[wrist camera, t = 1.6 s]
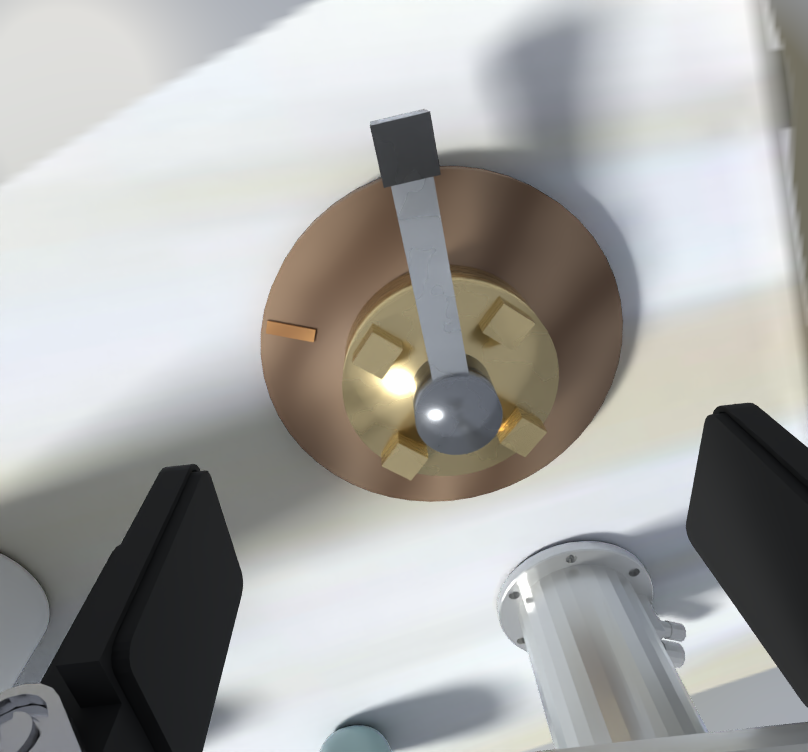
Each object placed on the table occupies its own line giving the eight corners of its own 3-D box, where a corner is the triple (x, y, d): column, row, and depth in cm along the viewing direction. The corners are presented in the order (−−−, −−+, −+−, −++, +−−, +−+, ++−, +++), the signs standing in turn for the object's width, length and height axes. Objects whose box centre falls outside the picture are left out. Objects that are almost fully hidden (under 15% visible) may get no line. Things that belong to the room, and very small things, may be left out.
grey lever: (550, 423, 36) (585, 487, 31) (371, 460, 37) (370, 530, 31) (514, 83, 27) (553, 82, 21) (276, 140, 28) (251, 154, 22)
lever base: (678, 235, 33) (692, 241, 32) (528, 515, 42) (534, 530, 41) (312, 107, 29) (309, 108, 27) (235, 448, 38) (229, 462, 37)
